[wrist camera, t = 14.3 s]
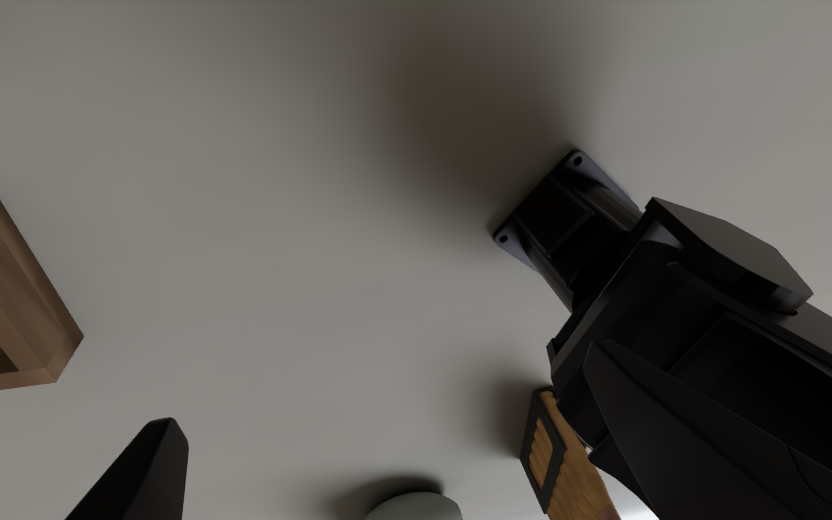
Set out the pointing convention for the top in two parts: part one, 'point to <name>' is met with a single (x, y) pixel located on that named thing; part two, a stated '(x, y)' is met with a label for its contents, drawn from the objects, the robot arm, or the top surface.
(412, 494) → the air freshener
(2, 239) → the brown wooden tray
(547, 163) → the top surface
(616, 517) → the ammunition clip
